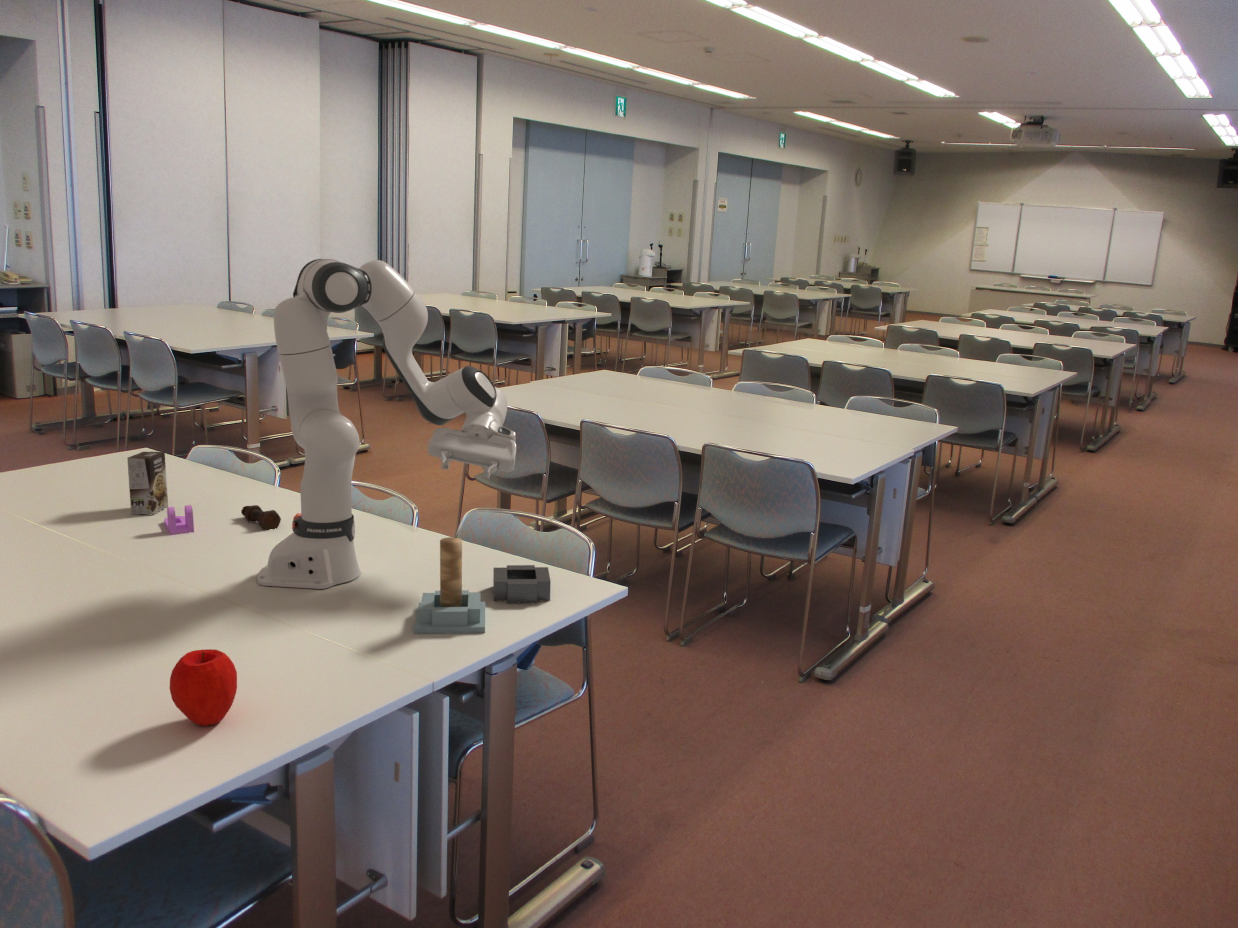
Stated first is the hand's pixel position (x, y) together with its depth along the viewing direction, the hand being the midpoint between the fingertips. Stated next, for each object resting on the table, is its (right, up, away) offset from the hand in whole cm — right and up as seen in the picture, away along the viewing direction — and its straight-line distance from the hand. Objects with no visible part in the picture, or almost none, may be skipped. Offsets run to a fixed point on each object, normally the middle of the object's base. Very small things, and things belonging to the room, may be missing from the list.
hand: (465, 471), depth 213 cm
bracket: (-82, -15, +38) cm, 92 cm away
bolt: (-63, -15, +44) cm, 78 cm away
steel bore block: (+13, -27, 0) cm, 30 cm away
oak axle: (0, -30, -17) cm, 34 cm away
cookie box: (-96, -12, +51) cm, 110 cm away
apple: (-31, -40, -62) cm, 80 cm away
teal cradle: (0, -31, -17) cm, 35 cm away
